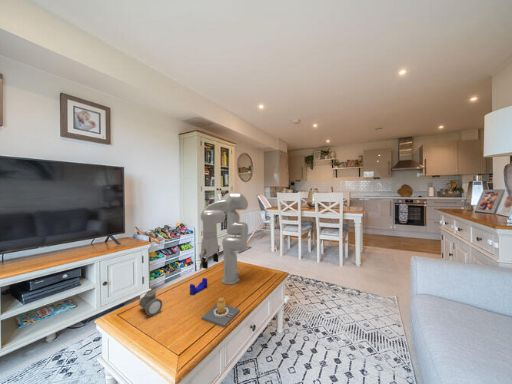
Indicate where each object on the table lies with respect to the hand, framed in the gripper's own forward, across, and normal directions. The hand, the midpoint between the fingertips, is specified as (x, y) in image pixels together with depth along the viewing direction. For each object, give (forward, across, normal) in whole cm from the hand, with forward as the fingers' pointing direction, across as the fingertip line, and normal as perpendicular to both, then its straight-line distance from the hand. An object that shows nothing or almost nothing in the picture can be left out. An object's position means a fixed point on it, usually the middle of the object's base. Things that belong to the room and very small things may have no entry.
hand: (210, 264), depth 112 cm
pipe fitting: (+23, +18, -27) cm, 40 cm away
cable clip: (+24, -11, -18) cm, 32 cm away
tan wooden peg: (+22, +5, +10) cm, 25 cm away
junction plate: (+23, +5, +10) cm, 26 cm away
